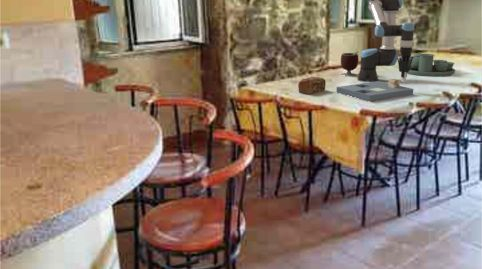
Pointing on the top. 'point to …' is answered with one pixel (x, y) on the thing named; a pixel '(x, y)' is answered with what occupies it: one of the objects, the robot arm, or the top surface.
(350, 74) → the mate gourd
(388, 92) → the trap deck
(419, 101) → the top surface
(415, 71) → the tea set
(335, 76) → the top surface
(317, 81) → the bread
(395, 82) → the maple block
